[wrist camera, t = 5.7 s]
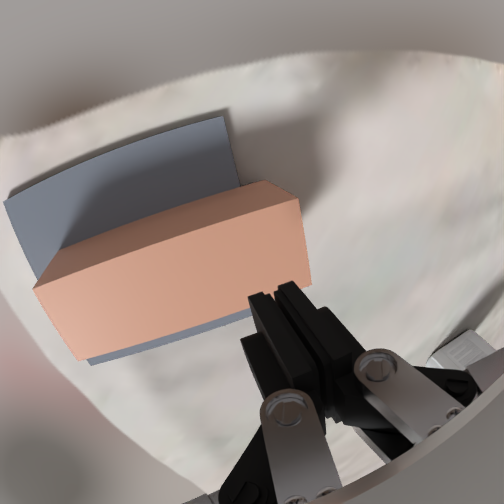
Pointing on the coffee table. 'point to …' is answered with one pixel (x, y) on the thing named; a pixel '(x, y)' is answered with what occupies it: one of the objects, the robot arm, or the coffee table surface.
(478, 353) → the photo printer
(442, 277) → the coffee table surface
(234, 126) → the coffee table surface
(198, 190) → the mat
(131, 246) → the terracotta block
